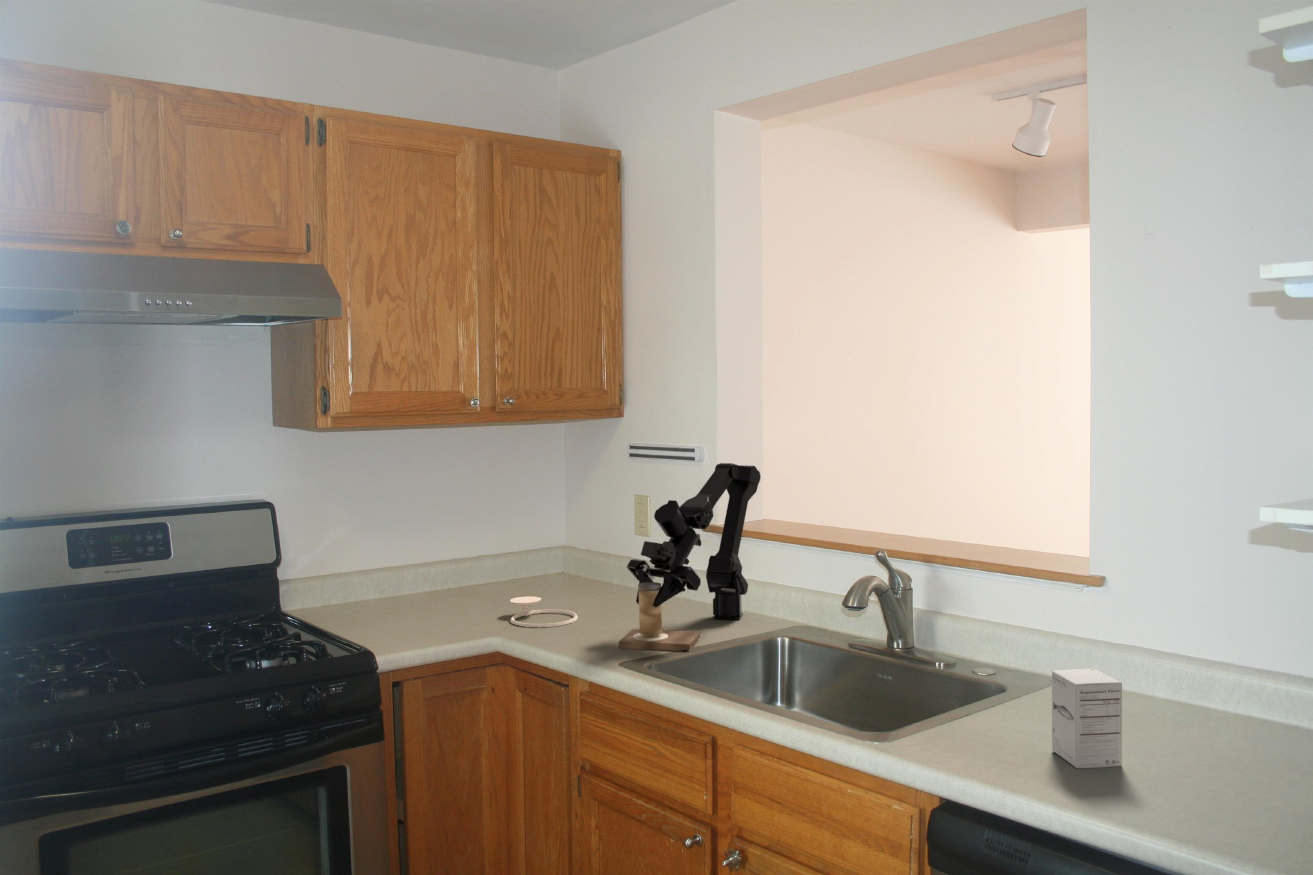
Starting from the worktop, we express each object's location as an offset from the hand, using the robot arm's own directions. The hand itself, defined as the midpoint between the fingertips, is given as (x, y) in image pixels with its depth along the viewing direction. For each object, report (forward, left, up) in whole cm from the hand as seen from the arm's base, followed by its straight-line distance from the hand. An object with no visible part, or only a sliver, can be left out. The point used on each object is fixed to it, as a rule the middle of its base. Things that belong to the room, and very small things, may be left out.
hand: (645, 604), depth 219 cm
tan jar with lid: (-1, -1, -7) cm, 7 cm away
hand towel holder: (+33, -21, -10) cm, 41 cm away
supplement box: (-82, +56, -9) cm, 99 cm away
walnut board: (-3, -2, -9) cm, 10 cm away
